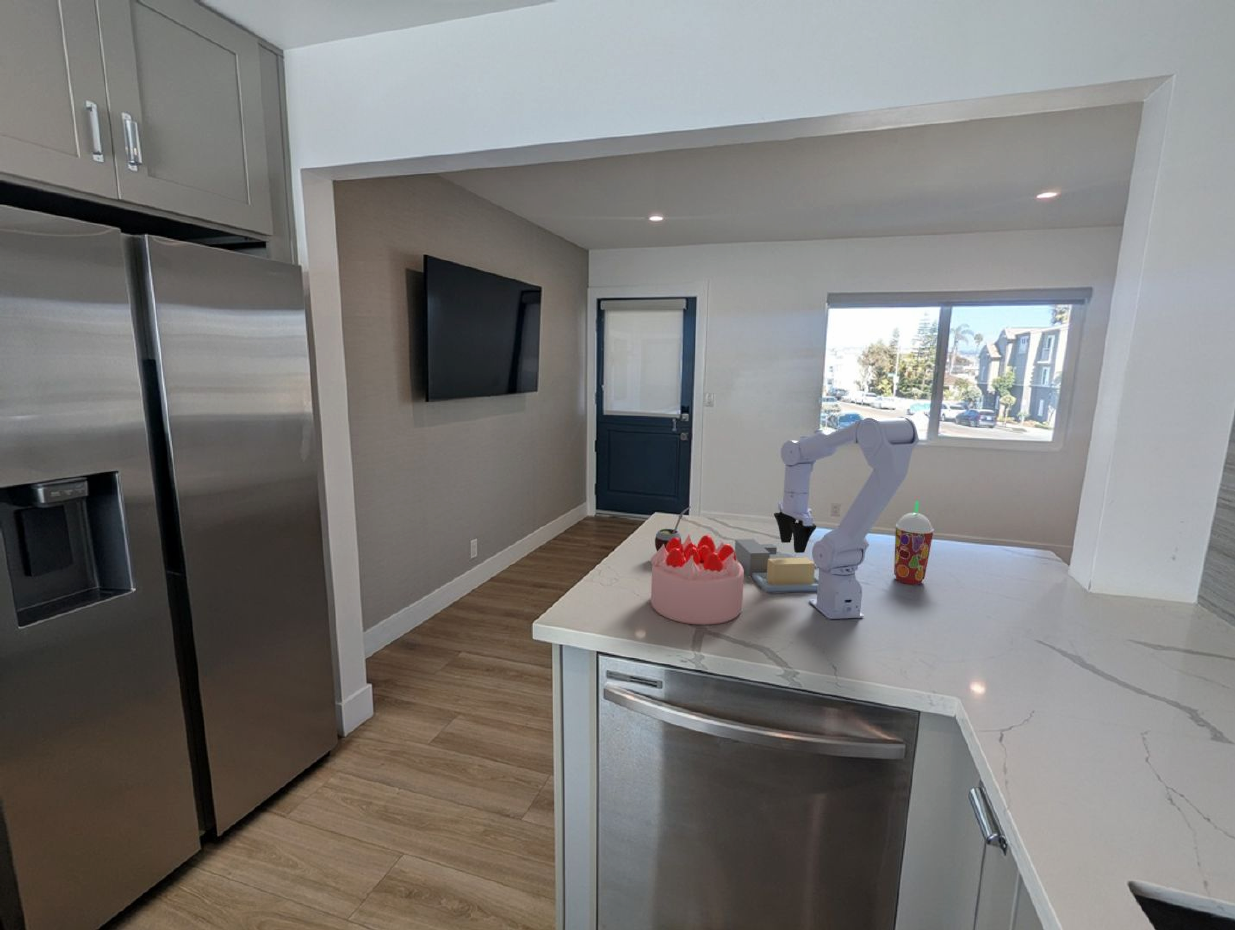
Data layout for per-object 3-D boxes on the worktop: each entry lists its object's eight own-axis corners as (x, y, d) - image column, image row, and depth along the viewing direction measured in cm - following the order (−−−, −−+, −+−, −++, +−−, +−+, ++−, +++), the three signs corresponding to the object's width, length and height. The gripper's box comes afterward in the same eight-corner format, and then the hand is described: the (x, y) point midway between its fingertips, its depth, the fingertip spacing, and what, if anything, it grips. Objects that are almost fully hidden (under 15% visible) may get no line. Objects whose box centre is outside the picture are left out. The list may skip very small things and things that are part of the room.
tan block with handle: (816, 585, 139) (818, 563, 138) (773, 586, 137) (774, 564, 136) (808, 578, 143) (810, 557, 142) (766, 580, 141) (767, 558, 140)
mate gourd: (648, 559, 156) (650, 505, 154) (669, 553, 162) (670, 500, 159) (669, 567, 151) (671, 510, 148) (689, 560, 156) (691, 506, 154)
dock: (788, 575, 147) (790, 552, 146) (749, 576, 145) (750, 553, 144) (771, 559, 158) (772, 538, 157) (734, 561, 156) (735, 539, 155)
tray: (827, 591, 137) (828, 585, 136) (766, 593, 135) (767, 587, 134) (810, 576, 146) (810, 571, 145) (752, 578, 144) (752, 573, 143)
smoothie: (919, 575, 148) (928, 498, 144) (933, 587, 140) (943, 506, 136) (885, 573, 149) (892, 497, 145) (897, 586, 141) (905, 505, 137)
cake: (748, 628, 117) (752, 560, 114) (648, 624, 118) (650, 556, 116) (735, 590, 136) (738, 531, 134) (649, 587, 137) (651, 529, 135)
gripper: (827, 498, 130) (822, 556, 132) (799, 484, 144) (795, 537, 146) (797, 498, 129) (793, 557, 131) (771, 485, 143) (768, 538, 145)
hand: (792, 547), depth 139 cm, fingers open, 7 cm apart
